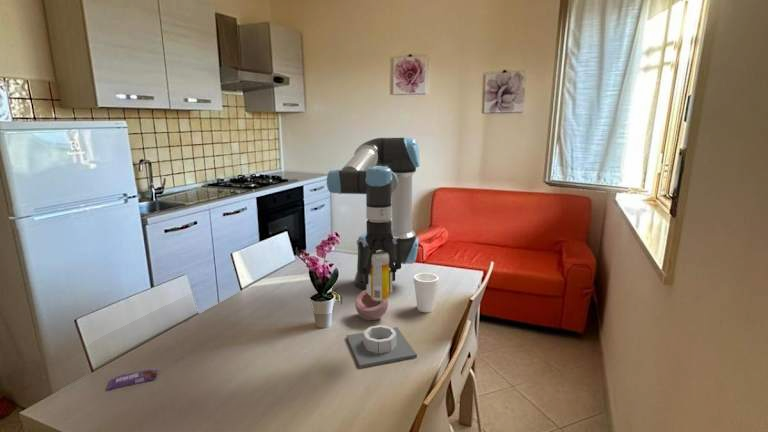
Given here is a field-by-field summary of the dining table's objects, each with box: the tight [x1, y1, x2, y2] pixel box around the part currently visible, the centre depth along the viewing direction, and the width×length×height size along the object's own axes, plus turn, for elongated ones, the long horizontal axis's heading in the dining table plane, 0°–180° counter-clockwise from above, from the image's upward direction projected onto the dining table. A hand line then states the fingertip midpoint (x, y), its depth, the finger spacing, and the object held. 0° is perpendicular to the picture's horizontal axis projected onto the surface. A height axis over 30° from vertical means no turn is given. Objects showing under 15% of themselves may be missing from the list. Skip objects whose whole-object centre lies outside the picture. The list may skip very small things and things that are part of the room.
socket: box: [346, 324, 418, 369], centre depth 128 cm, size 18×18×5 cm
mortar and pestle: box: [354, 289, 389, 321], centre depth 147 cm, size 12×12×11 cm
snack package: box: [106, 369, 158, 390], centre depth 112 cm, size 12×2×5 cm
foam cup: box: [413, 272, 440, 313], centre depth 154 cm, size 10×9×13 cm
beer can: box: [370, 250, 390, 301], centre depth 123 cm, size 6×6×15 cm
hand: (379, 292), depth 124 cm, fingers closed on beer can, 6 cm apart
